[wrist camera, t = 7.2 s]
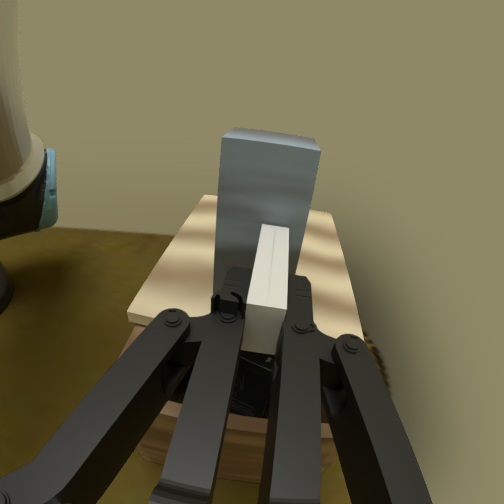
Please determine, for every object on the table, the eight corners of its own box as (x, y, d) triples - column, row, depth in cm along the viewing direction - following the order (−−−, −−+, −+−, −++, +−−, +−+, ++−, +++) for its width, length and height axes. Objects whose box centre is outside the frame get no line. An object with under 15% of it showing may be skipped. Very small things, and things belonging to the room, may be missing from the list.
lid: (360, 358, 19) (435, 184, 12) (128, 321, 20) (104, 137, 13) (329, 220, 39) (349, 125, 32) (204, 201, 39) (210, 105, 32)
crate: (303, 486, 21) (362, 437, 14) (143, 459, 22) (100, 394, 15) (305, 333, 40) (331, 249, 33) (193, 316, 41) (192, 228, 33)
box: (278, 388, 32) (298, 329, 26) (257, 425, 28) (273, 373, 22) (220, 361, 35) (224, 298, 29) (195, 393, 30) (191, 333, 25)
